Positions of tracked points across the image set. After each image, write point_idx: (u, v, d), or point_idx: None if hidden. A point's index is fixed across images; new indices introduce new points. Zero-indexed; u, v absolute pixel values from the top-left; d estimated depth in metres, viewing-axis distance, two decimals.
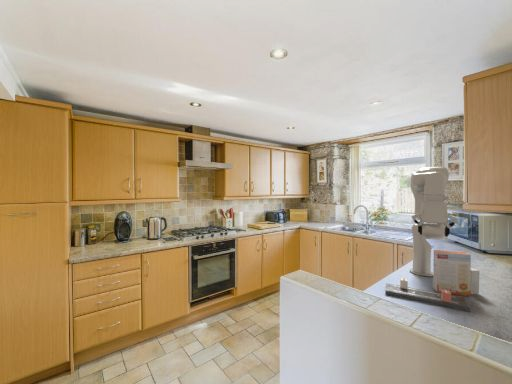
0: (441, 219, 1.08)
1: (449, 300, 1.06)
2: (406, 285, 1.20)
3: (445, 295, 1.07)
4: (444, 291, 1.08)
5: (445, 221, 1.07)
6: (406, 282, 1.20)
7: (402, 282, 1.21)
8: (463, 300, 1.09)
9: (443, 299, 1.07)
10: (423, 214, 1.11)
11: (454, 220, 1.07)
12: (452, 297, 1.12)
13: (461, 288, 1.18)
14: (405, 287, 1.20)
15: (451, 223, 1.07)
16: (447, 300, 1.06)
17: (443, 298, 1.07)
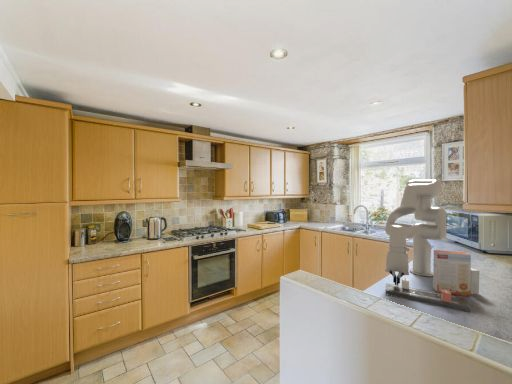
0: (403, 269, 1.21)
1: (449, 300, 1.06)
2: (407, 285, 1.20)
3: (445, 295, 1.07)
4: (444, 291, 1.08)
5: (406, 271, 1.20)
6: (407, 282, 1.20)
7: (403, 282, 1.20)
8: (463, 300, 1.09)
9: (443, 299, 1.07)
10: (387, 263, 1.24)
11: (406, 273, 1.21)
12: (452, 297, 1.12)
13: (461, 288, 1.18)
14: (406, 287, 1.20)
15: None
16: (447, 300, 1.06)
17: (443, 298, 1.07)
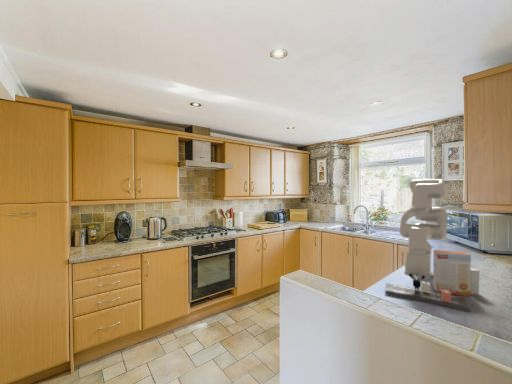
0: (423, 272, 1.16)
1: (449, 300, 1.06)
2: (429, 289, 1.15)
3: (445, 295, 1.07)
4: (444, 291, 1.08)
5: (427, 274, 1.16)
6: (429, 286, 1.15)
7: (424, 286, 1.16)
8: (463, 300, 1.09)
9: (443, 299, 1.07)
10: (407, 266, 1.20)
11: (427, 276, 1.17)
12: (452, 297, 1.12)
13: (461, 288, 1.18)
14: (427, 291, 1.16)
15: (422, 277, 1.18)
16: (447, 300, 1.06)
17: (443, 298, 1.07)
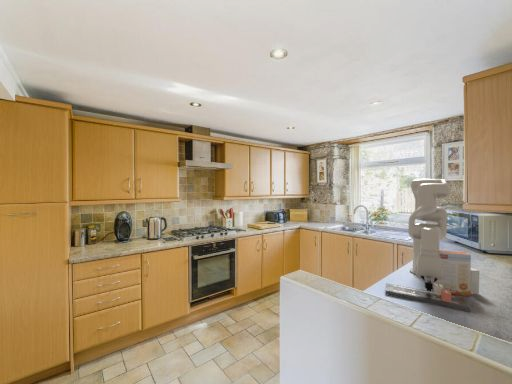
0: (436, 274, 1.14)
1: (449, 300, 1.06)
2: None
3: (445, 295, 1.07)
4: (444, 291, 1.08)
5: (440, 276, 1.13)
6: (441, 288, 1.13)
7: (437, 288, 1.14)
8: (463, 300, 1.09)
9: (443, 299, 1.07)
10: (419, 267, 1.17)
11: (439, 278, 1.14)
12: (452, 297, 1.12)
13: (461, 288, 1.18)
14: (440, 294, 1.13)
15: (434, 279, 1.15)
16: (447, 300, 1.06)
17: (443, 298, 1.07)
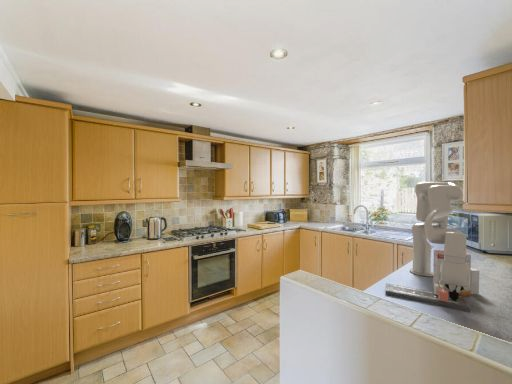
0: (463, 282, 1.04)
1: (446, 299, 1.06)
2: None
3: (442, 294, 1.07)
4: (441, 290, 1.08)
5: (467, 285, 1.03)
6: (442, 288, 1.13)
7: (437, 288, 1.14)
8: (463, 300, 1.09)
9: (440, 299, 1.08)
10: (443, 275, 1.07)
11: (466, 287, 1.04)
12: None
13: None
14: None
15: None
16: (444, 299, 1.07)
17: (440, 297, 1.08)
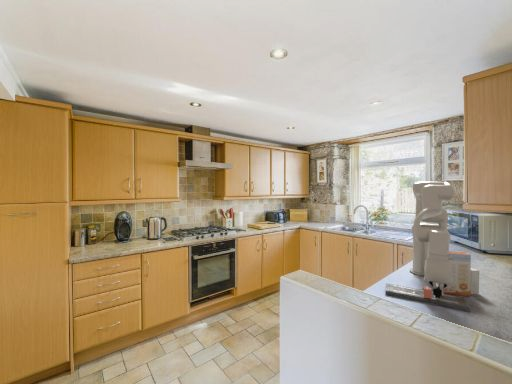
0: (446, 280, 1.06)
1: (430, 296, 1.09)
2: (442, 291, 1.13)
3: (426, 291, 1.10)
4: (425, 288, 1.11)
5: (450, 282, 1.06)
6: None
7: None
8: (463, 300, 1.09)
9: (424, 295, 1.10)
10: (427, 273, 1.10)
11: (449, 284, 1.07)
12: (452, 297, 1.12)
13: (461, 288, 1.18)
14: None
15: None
16: (428, 296, 1.10)
17: (424, 294, 1.11)
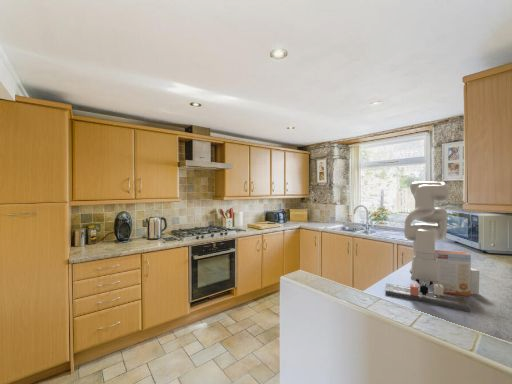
0: (431, 277, 1.09)
1: (416, 294, 1.12)
2: (442, 291, 1.13)
3: (413, 289, 1.13)
4: (412, 285, 1.14)
5: (435, 280, 1.08)
6: (442, 288, 1.13)
7: (437, 288, 1.14)
8: (463, 300, 1.09)
9: (411, 293, 1.13)
10: (414, 271, 1.12)
11: (435, 282, 1.10)
12: (452, 297, 1.12)
13: (461, 288, 1.18)
14: (441, 294, 1.13)
15: None
16: (415, 294, 1.12)
17: (411, 292, 1.13)
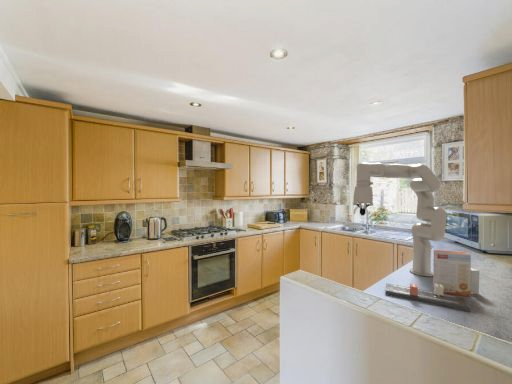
0: (367, 200, 1.37)
1: (416, 294, 1.12)
2: (442, 291, 1.13)
3: (412, 289, 1.13)
4: (412, 285, 1.14)
5: (370, 201, 1.36)
6: (442, 288, 1.13)
7: (437, 288, 1.14)
8: (463, 300, 1.09)
9: (410, 293, 1.13)
10: (355, 196, 1.40)
11: (370, 204, 1.37)
12: (452, 297, 1.12)
13: (461, 288, 1.18)
14: (441, 294, 1.13)
15: (366, 205, 1.38)
16: (414, 294, 1.12)
17: (410, 292, 1.13)
